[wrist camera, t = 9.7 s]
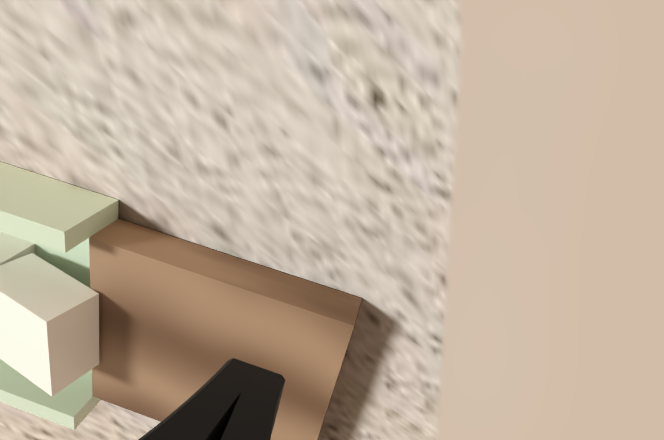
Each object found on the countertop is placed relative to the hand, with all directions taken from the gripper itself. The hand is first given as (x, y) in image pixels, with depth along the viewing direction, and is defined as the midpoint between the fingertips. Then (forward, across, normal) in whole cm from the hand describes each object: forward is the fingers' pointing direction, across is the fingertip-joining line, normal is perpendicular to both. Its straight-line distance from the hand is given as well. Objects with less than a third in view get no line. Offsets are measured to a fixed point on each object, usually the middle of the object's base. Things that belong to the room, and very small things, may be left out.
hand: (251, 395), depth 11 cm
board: (+9, +4, +8) cm, 13 cm away
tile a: (+8, +12, +8) cm, 16 cm away
